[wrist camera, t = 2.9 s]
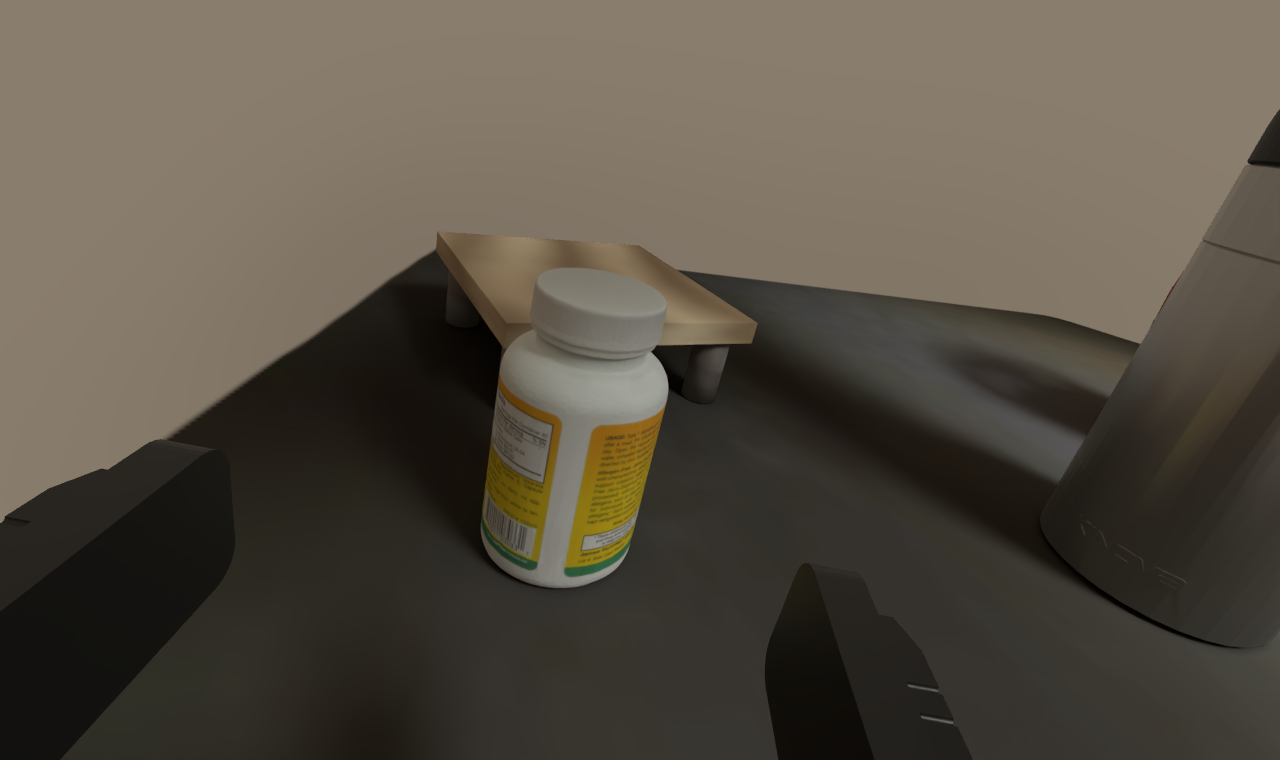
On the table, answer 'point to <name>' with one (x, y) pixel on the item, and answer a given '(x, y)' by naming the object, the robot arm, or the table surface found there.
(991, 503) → the table surface
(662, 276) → the peg shelf
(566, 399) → the supplement bottle
